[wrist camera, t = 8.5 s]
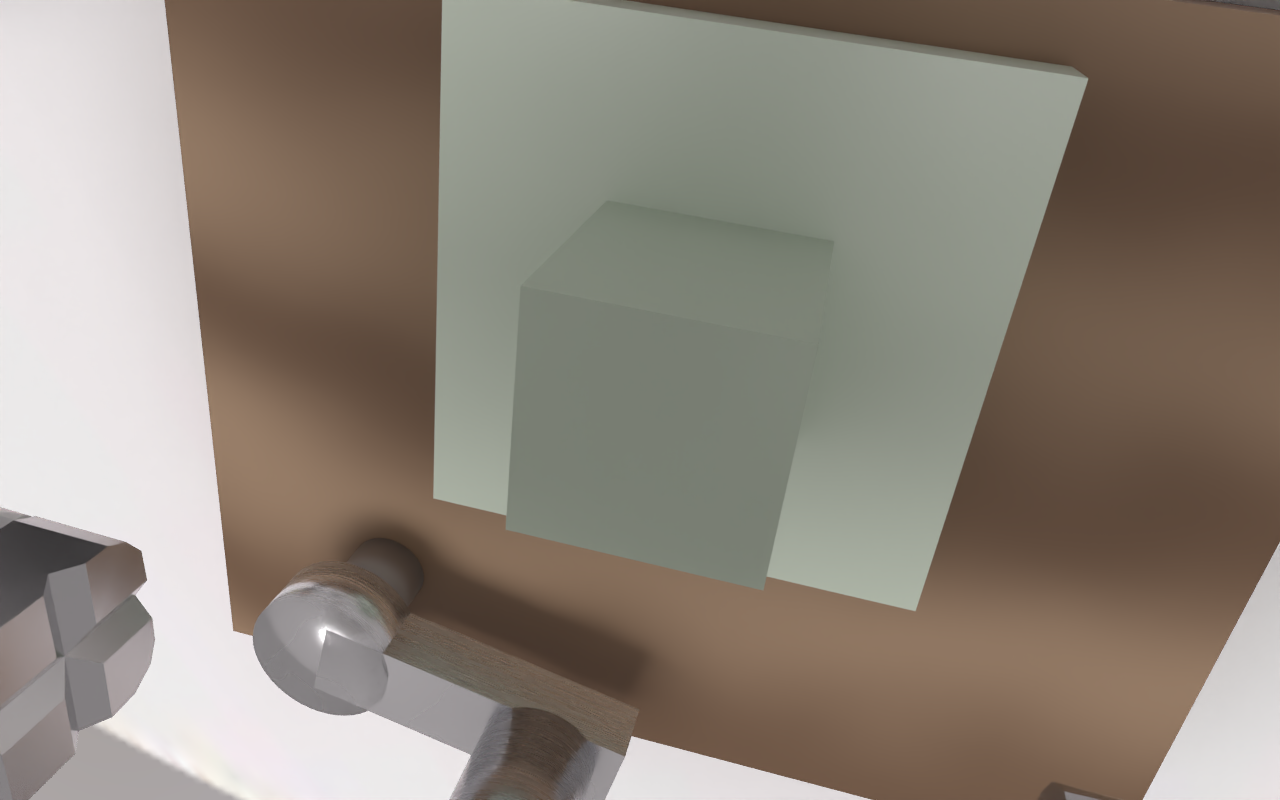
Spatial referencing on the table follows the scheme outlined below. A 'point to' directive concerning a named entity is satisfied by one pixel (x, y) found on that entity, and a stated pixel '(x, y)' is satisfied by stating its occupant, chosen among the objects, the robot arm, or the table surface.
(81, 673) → the robot arm
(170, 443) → the table surface
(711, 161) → the cover
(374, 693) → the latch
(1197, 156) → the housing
